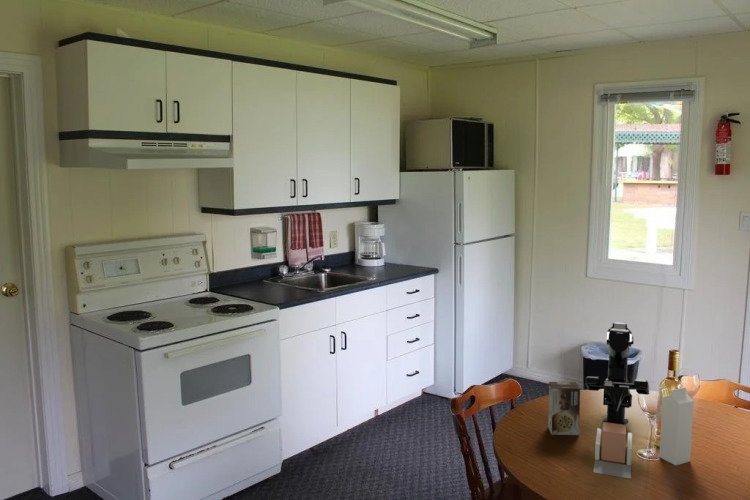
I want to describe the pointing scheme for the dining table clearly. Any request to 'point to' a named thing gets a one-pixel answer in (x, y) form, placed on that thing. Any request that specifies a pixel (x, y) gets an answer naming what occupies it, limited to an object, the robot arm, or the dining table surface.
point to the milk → (676, 427)
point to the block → (613, 442)
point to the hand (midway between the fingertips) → (615, 410)
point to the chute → (613, 468)
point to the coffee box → (564, 408)
